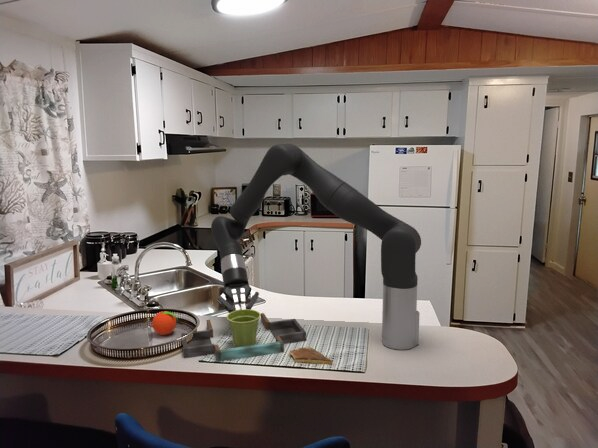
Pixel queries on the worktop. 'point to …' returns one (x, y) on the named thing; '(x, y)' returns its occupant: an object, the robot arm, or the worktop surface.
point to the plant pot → (244, 326)
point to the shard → (309, 356)
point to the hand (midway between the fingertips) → (242, 324)
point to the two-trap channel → (280, 329)
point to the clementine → (164, 322)
